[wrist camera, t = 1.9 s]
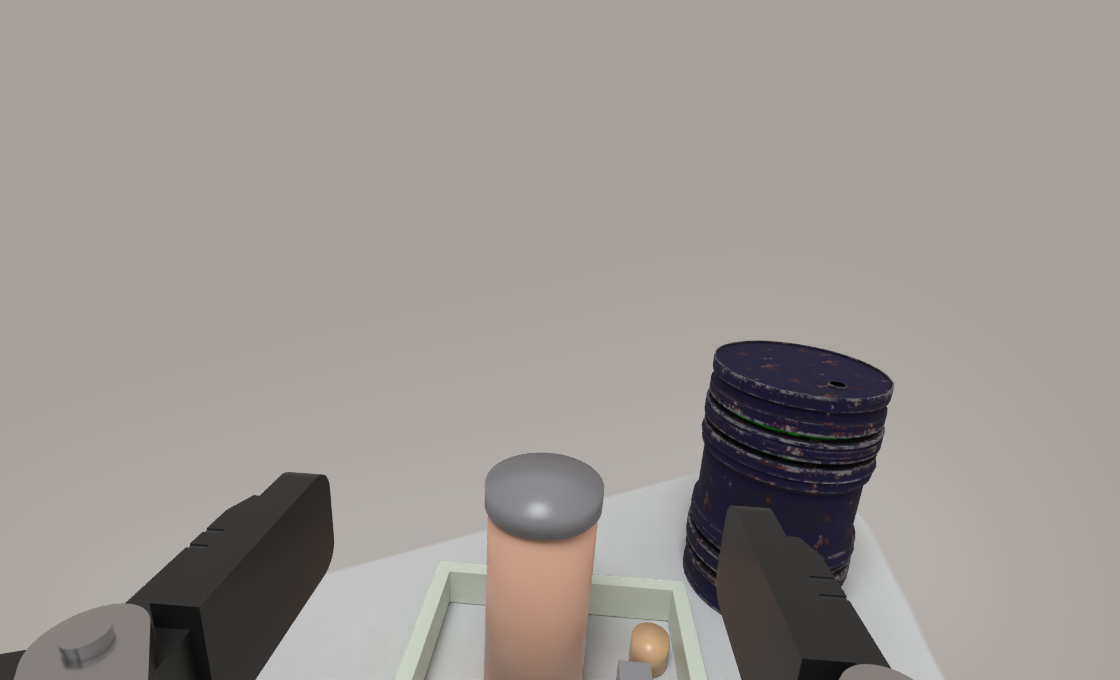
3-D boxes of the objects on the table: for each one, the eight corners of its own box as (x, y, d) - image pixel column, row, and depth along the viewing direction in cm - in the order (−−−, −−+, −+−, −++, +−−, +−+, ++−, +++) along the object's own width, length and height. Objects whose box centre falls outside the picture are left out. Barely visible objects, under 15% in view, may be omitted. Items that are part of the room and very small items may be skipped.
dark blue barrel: (654, 540, 39) (681, 343, 34) (767, 520, 42) (805, 337, 38) (740, 654, 30) (791, 407, 26) (875, 618, 33) (941, 392, 29)
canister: (470, 742, 25) (474, 513, 21) (490, 647, 29) (495, 448, 26) (582, 752, 24) (606, 523, 21) (583, 656, 29) (602, 457, 26)
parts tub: (355, 829, 21) (352, 789, 20) (439, 590, 33) (439, 560, 32) (732, 866, 21) (742, 827, 20) (679, 611, 33) (684, 581, 32)
